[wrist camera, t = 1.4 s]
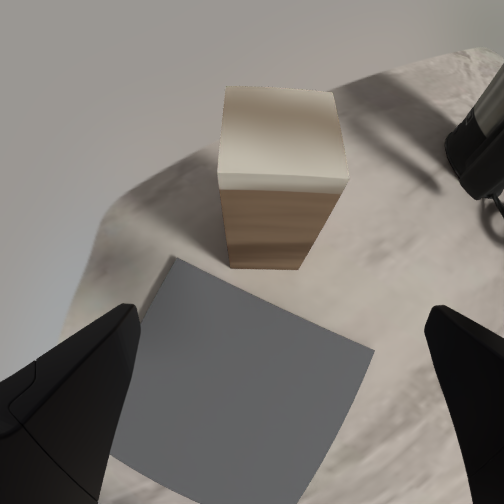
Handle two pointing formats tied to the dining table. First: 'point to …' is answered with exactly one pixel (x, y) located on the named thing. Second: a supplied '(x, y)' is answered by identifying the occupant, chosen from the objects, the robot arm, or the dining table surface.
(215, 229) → the dining table surface
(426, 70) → the dining table surface
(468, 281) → the dining table surface
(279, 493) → the charcoal mat
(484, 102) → the milk frother
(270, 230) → the wooden block
